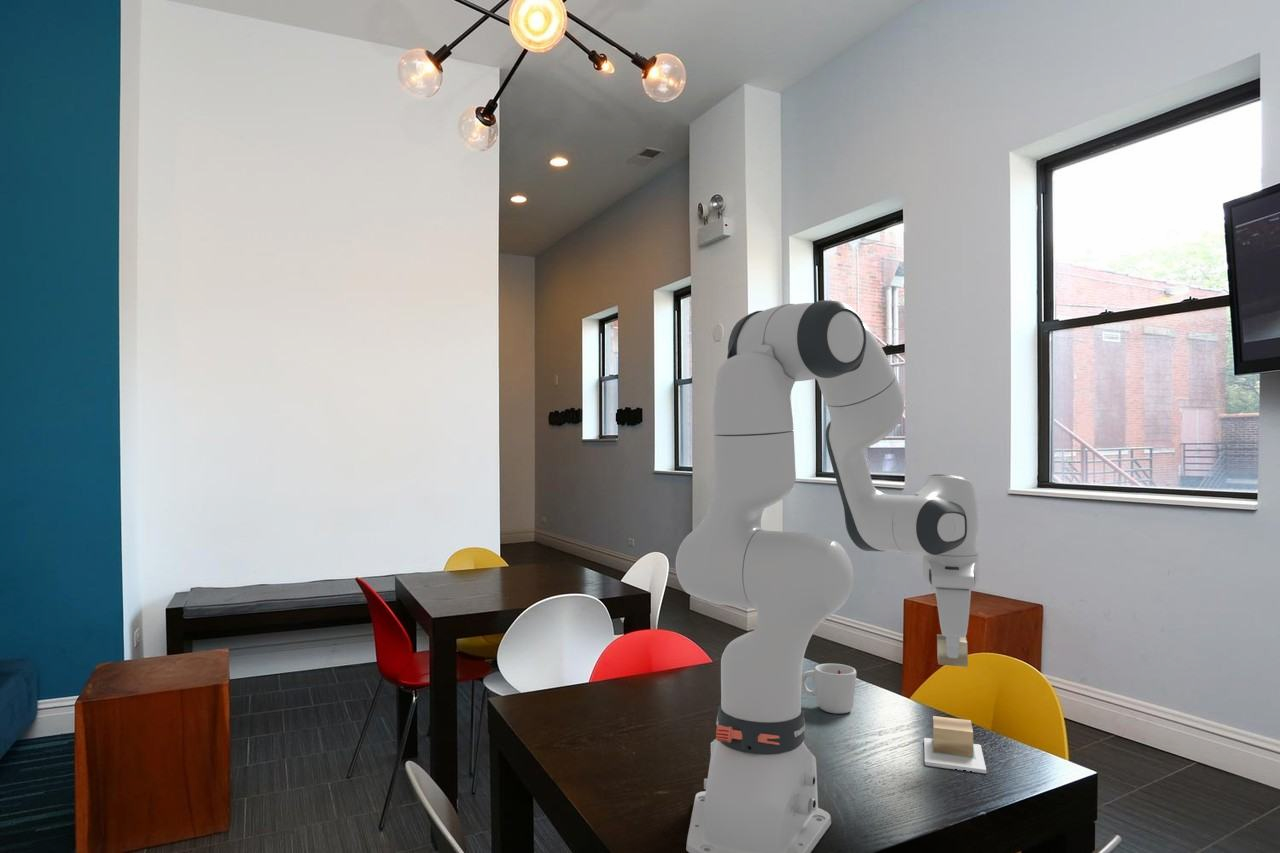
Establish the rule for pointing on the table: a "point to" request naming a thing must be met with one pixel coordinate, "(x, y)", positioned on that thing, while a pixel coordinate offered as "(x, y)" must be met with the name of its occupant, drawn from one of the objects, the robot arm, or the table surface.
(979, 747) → the plate
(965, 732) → the oak block
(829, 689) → the cup
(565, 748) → the table surface
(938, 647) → the maple block
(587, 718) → the table surface
